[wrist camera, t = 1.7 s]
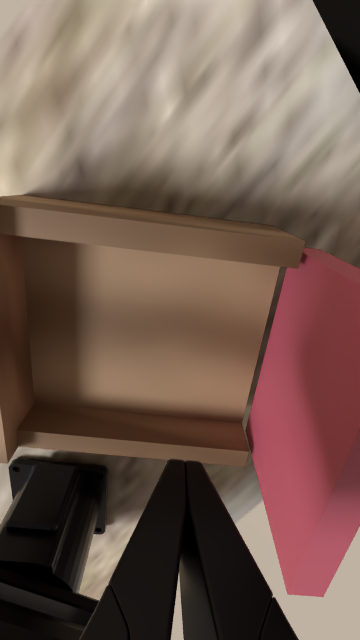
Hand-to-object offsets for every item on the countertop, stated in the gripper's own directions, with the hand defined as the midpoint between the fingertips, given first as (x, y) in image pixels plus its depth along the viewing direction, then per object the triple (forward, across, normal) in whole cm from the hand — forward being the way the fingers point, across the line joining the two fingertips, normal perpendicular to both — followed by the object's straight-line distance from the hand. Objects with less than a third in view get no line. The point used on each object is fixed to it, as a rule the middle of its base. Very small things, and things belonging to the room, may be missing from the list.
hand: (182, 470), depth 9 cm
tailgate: (+7, -4, 0) cm, 8 cm away
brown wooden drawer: (+10, +2, 0) cm, 10 cm away
